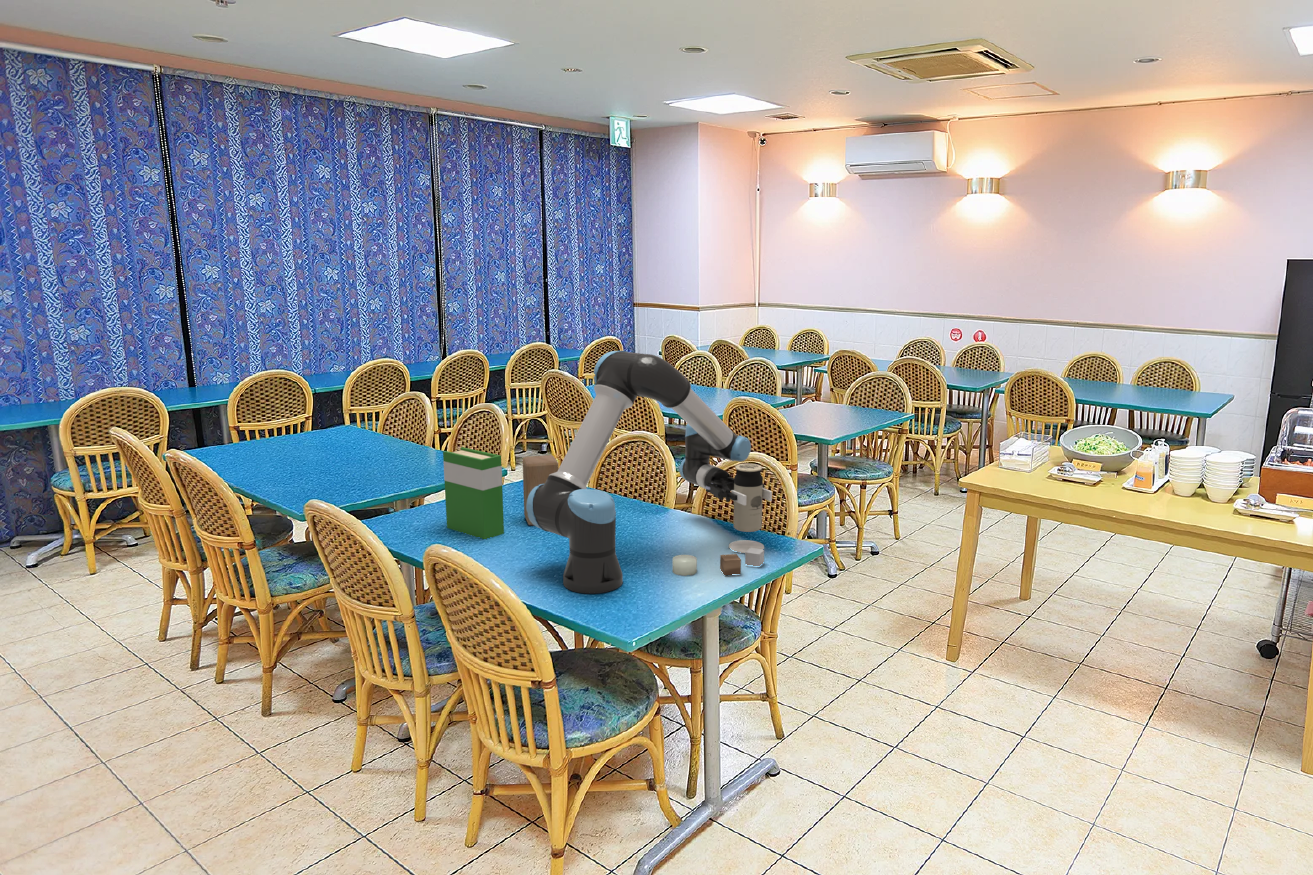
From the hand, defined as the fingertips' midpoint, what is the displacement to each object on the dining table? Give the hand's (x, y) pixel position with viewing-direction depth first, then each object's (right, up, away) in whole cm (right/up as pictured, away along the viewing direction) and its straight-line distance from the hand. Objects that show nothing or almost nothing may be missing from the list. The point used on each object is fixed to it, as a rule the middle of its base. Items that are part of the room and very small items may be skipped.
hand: (758, 498), depth 239 cm
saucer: (-2, -15, +7) cm, 17 cm away
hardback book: (-83, -11, +22) cm, 87 cm away
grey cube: (-2, -18, -6) cm, 19 cm away
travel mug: (-2, -9, +6) cm, 11 cm away
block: (-64, -9, +32) cm, 72 cm away
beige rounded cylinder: (-21, -19, -11) cm, 30 cm away
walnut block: (-9, -19, -12) cm, 24 cm away
